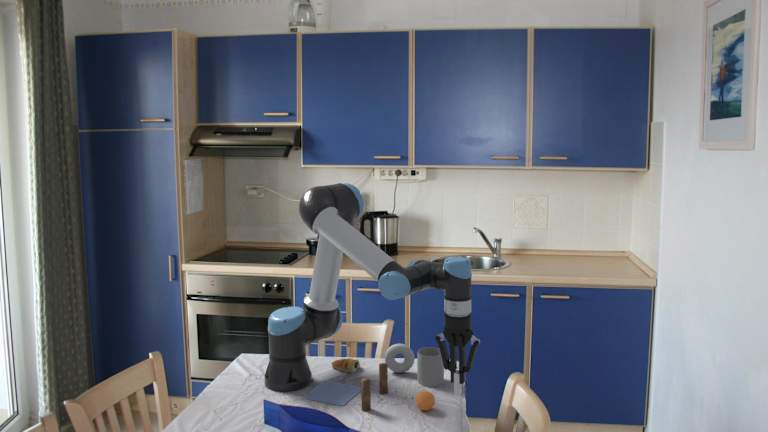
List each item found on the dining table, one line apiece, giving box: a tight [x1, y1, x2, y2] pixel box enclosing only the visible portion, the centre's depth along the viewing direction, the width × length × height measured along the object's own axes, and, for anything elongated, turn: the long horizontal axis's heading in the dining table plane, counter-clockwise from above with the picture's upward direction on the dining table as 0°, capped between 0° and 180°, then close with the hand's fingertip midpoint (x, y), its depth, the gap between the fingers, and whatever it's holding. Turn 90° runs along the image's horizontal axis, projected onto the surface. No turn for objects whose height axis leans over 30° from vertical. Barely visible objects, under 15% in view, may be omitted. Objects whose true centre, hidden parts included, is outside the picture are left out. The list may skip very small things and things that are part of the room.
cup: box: [416, 346, 445, 388], centre depth 212 cm, size 8×8×10 cm
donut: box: [384, 343, 416, 374], centre depth 219 cm, size 10×4×10 cm, turn 86°
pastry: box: [331, 357, 361, 374], centre depth 224 cm, size 9×7×4 cm
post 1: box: [360, 377, 372, 412], centre depth 192 cm, size 3×3×9 cm
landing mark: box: [302, 380, 361, 407], centre depth 204 cm, size 14×14×1 cm
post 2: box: [378, 362, 389, 395], centre depth 204 cm, size 3×3×9 cm
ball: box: [415, 390, 436, 412], centre depth 192 cm, size 6×6×6 cm
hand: (457, 393), depth 187 cm, fingers closed
